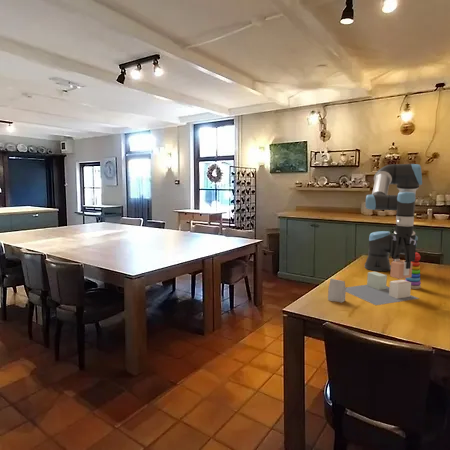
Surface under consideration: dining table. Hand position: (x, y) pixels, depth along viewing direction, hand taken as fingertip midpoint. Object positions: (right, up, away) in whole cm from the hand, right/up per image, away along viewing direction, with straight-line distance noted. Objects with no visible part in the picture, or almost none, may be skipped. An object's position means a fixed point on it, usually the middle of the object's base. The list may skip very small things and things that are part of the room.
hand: (401, 273), depth 173 cm
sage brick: (-5, -9, +16) cm, 19 cm away
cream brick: (0, -11, +2) cm, 11 cm away
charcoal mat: (-9, -11, +6) cm, 15 cm away
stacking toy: (+14, -10, +16) cm, 23 cm away
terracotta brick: (0, -2, 0) cm, 2 cm away
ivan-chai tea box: (-32, -12, -4) cm, 35 cm away
